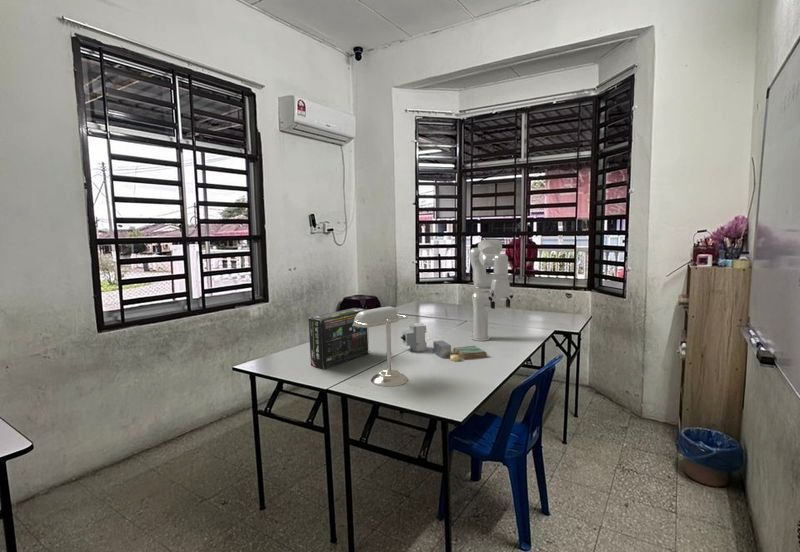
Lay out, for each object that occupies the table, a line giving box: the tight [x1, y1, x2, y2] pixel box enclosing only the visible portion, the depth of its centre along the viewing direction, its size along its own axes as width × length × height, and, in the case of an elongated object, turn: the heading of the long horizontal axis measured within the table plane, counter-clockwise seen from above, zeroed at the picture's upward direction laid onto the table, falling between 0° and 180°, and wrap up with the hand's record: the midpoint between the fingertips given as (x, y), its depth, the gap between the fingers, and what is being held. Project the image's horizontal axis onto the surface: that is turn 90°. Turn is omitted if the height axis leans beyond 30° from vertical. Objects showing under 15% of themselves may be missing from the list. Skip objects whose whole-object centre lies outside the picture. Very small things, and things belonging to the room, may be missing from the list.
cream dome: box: [449, 354, 460, 362], centre depth 230 cm, size 5×5×2 cm
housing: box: [432, 340, 452, 359], centre depth 240 cm, size 11×6×7 cm, turn 19°
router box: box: [307, 307, 370, 370], centre depth 233 cm, size 36×11×27 cm, turn 141°
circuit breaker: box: [400, 322, 428, 352], centre depth 251 cm, size 8×14×15 cm, turn 108°
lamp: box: [353, 306, 409, 387], centre depth 202 cm, size 26×24×34 cm
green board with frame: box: [452, 345, 487, 360], centre depth 240 cm, size 14×14×3 cm
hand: (500, 307), depth 231 cm, fingers open, 9 cm apart
